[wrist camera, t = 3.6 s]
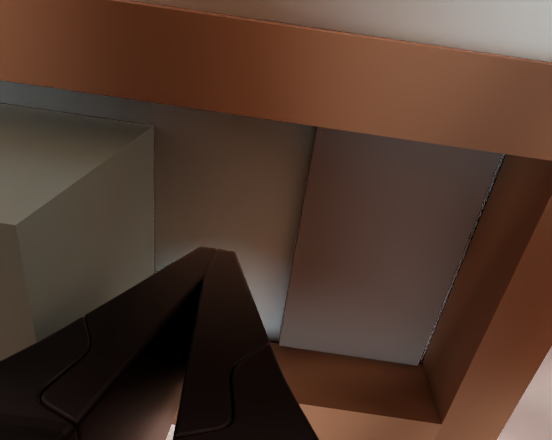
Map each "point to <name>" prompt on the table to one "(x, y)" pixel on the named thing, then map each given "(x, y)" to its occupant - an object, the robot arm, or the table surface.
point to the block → (70, 218)
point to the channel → (364, 119)
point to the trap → (380, 242)
